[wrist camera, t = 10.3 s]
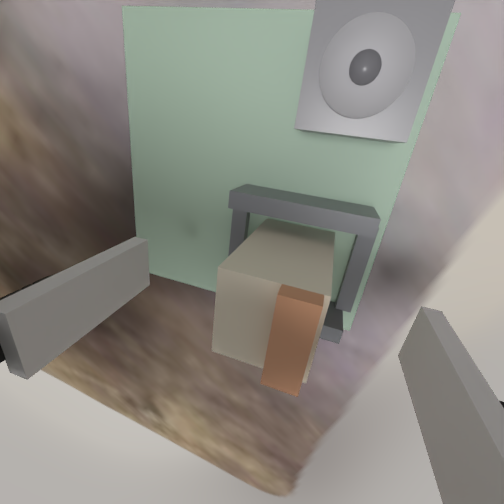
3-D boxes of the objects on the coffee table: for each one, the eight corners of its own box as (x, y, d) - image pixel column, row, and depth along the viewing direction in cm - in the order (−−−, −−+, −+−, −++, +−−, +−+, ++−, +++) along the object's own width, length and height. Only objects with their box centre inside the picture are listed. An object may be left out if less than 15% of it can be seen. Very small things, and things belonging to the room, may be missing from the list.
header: (228, 285, 21) (212, 305, 18) (239, 182, 17) (221, 188, 15) (346, 317, 19) (347, 346, 16) (382, 208, 15) (391, 221, 13)
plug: (266, 218, 18) (208, 275, 10) (335, 232, 17) (330, 309, 9) (258, 276, 19) (203, 363, 12) (319, 292, 18) (303, 399, 11)
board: (147, 264, 24) (138, 269, 23) (135, 14, 17) (121, 5, 16) (349, 320, 20) (349, 330, 19) (451, 24, 13) (461, 12, 12)
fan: (302, 131, 15) (292, 127, 12) (322, 22, 13) (316, -15, 10) (394, 143, 14) (409, 142, 11) (431, 26, 12) (463, -16, 9)
